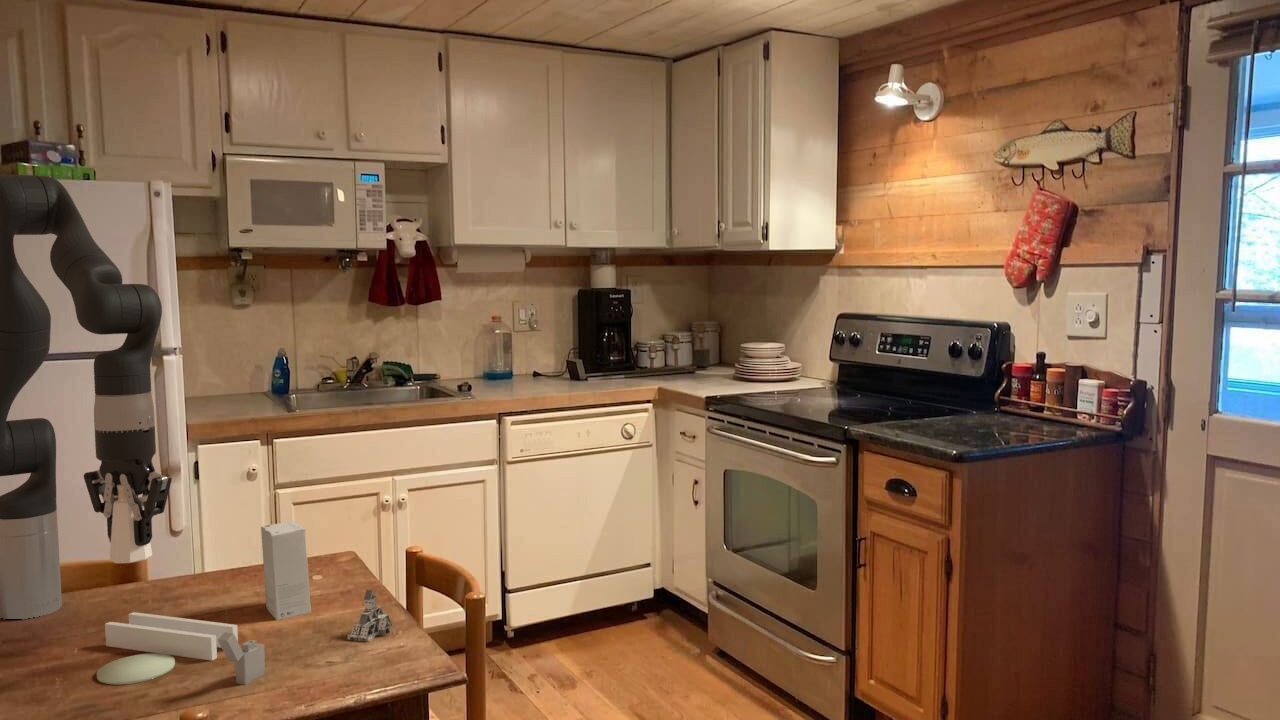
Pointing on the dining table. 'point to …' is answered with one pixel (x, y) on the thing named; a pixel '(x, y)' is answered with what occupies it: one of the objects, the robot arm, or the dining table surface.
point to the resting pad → (135, 669)
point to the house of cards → (370, 620)
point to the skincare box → (285, 570)
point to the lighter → (244, 657)
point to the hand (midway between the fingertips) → (130, 542)
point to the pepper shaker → (125, 533)
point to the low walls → (168, 635)
